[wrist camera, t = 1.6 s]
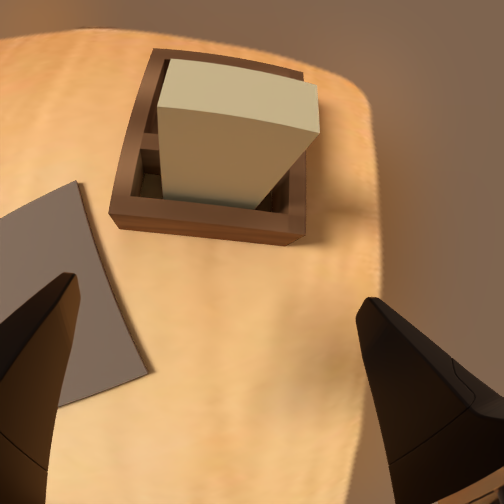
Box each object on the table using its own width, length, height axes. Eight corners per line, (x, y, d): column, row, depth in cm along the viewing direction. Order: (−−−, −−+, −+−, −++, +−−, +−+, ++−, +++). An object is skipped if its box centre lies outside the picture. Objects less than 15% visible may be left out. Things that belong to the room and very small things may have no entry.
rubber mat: (148, 371, 20) (147, 373, 19) (0, 423, 16) (-2, 425, 15) (77, 182, 21) (75, 180, 20) (-54, 255, 16) (-57, 254, 16)
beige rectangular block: (245, 220, 23) (319, 133, 11) (164, 212, 22) (157, 106, 10) (247, 189, 24) (317, 85, 11) (169, 180, 22) (170, 58, 10)
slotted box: (284, 246, 24) (305, 234, 20) (119, 229, 21) (108, 213, 17) (287, 98, 26) (303, 72, 22) (153, 78, 24) (153, 48, 20)
